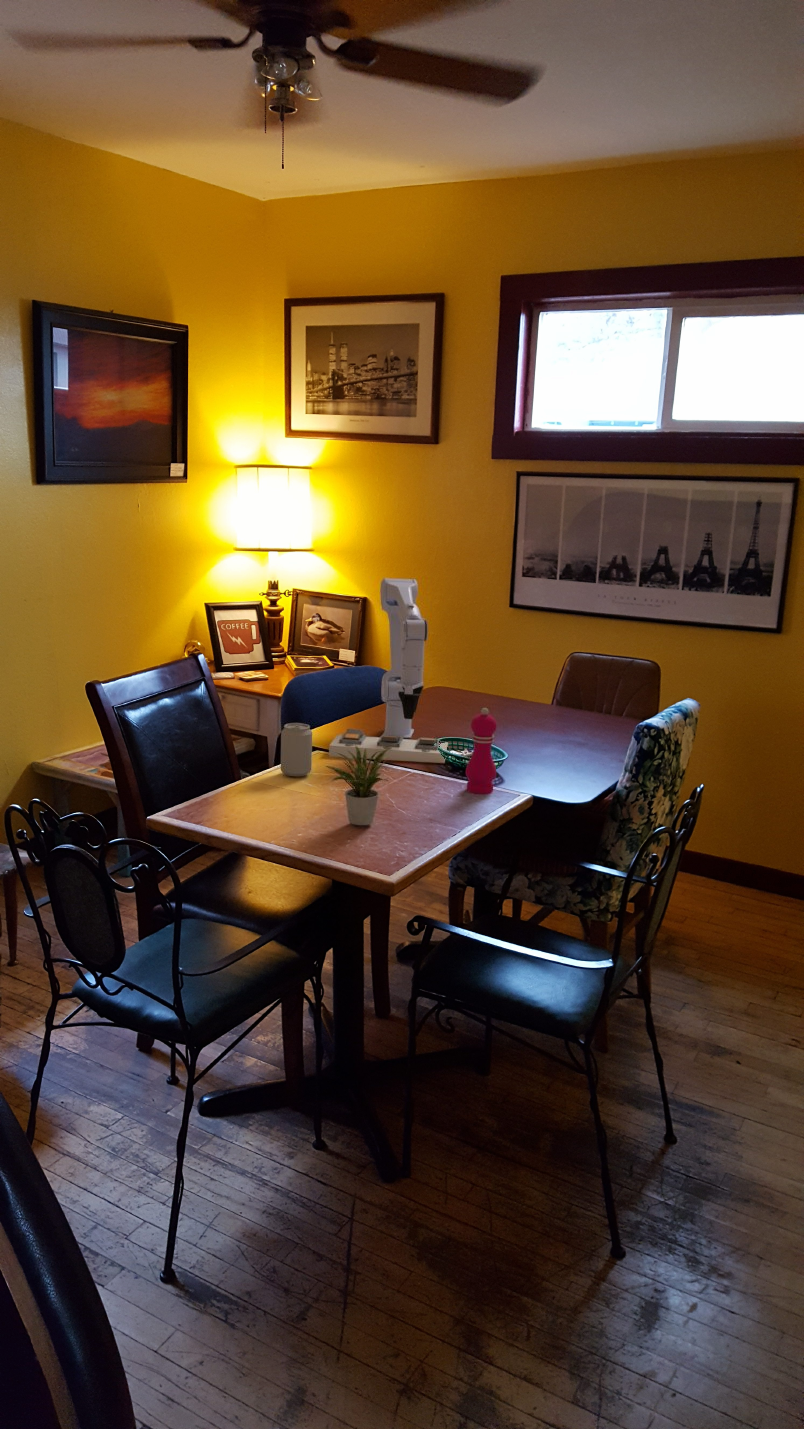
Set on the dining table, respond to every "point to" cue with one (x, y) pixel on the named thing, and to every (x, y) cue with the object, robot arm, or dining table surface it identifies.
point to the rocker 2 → (389, 738)
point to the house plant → (361, 787)
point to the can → (296, 749)
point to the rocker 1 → (353, 734)
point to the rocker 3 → (428, 740)
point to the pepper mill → (482, 755)
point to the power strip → (399, 751)
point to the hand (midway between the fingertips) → (409, 715)
